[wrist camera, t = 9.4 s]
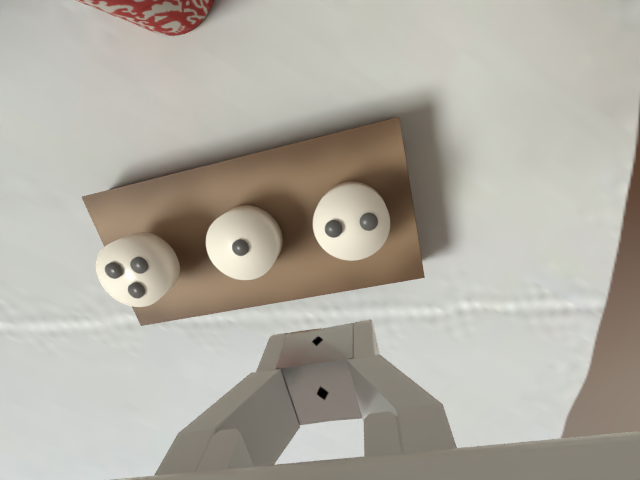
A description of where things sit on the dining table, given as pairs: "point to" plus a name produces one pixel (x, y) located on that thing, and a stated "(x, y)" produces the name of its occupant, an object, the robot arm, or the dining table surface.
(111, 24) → the dining table surface
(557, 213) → the dining table surface
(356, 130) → the button board
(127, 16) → the mug
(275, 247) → the button one
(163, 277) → the button three
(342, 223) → the button two
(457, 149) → the dining table surface
